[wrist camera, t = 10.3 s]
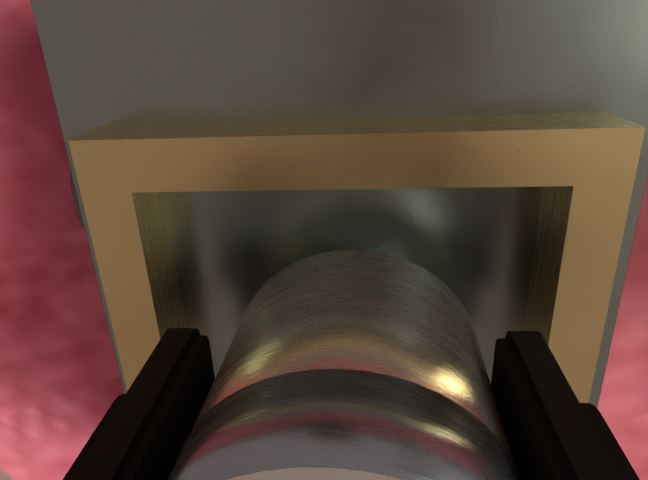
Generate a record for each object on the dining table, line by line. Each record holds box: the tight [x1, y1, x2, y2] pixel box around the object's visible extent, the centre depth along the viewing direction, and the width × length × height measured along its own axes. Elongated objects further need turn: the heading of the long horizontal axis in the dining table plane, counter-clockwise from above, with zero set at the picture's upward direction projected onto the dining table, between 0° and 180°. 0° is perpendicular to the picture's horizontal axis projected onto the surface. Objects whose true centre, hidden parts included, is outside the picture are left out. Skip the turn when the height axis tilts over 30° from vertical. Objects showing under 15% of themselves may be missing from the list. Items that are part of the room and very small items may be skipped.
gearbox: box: [30, 0, 648, 408], centre depth 15 cm, size 19×13×8 cm, turn 2°
